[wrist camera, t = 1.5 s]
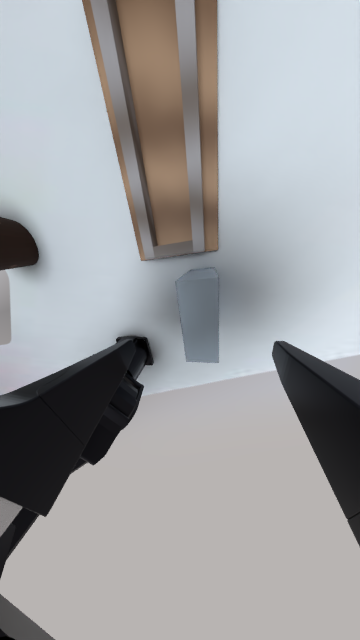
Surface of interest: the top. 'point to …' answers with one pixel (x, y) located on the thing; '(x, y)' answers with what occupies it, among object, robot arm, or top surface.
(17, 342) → the top surface
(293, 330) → the top surface
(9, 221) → the coffee mug
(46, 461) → the robot arm
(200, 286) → the grey flat block
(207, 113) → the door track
